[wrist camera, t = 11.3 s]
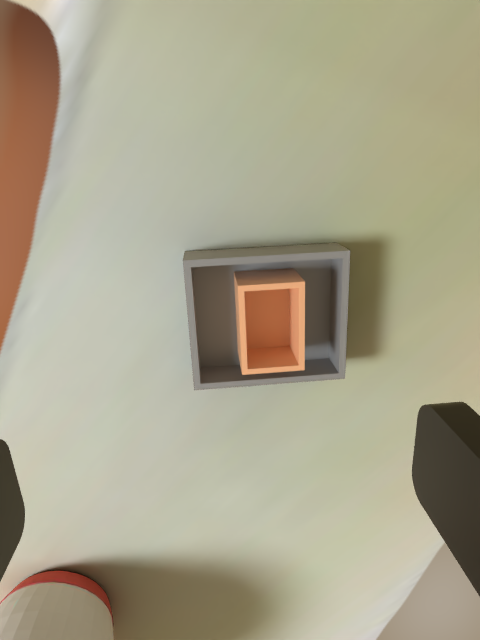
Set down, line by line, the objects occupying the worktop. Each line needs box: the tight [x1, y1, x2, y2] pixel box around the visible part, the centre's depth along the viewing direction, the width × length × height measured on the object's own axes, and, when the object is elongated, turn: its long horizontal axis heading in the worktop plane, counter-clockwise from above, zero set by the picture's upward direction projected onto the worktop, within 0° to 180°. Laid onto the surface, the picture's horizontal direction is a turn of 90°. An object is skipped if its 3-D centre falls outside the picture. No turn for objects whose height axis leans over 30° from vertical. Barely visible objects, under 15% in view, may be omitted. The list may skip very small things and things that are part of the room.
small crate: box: [234, 268, 305, 375], centre depth 40 cm, size 8×6×5 cm
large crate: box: [183, 243, 350, 390], centre depth 41 cm, size 12×14×4 cm
